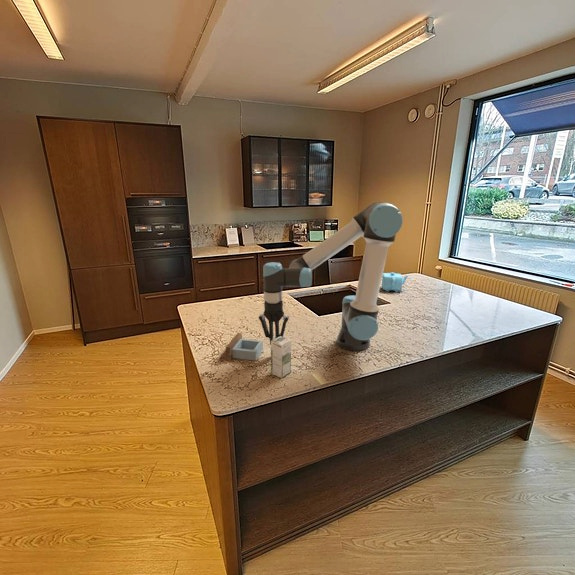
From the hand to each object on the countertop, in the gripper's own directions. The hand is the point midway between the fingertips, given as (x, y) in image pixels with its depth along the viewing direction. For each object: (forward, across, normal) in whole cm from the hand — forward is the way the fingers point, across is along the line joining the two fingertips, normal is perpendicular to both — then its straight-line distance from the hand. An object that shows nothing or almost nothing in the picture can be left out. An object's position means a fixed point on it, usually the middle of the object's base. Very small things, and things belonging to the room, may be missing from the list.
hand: (274, 351), depth 138 cm
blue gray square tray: (+2, +12, -1) cm, 12 cm away
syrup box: (+3, -5, +12) cm, 14 cm away
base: (+2, +20, -1) cm, 20 cm away
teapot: (+4, -66, -106) cm, 125 cm away
